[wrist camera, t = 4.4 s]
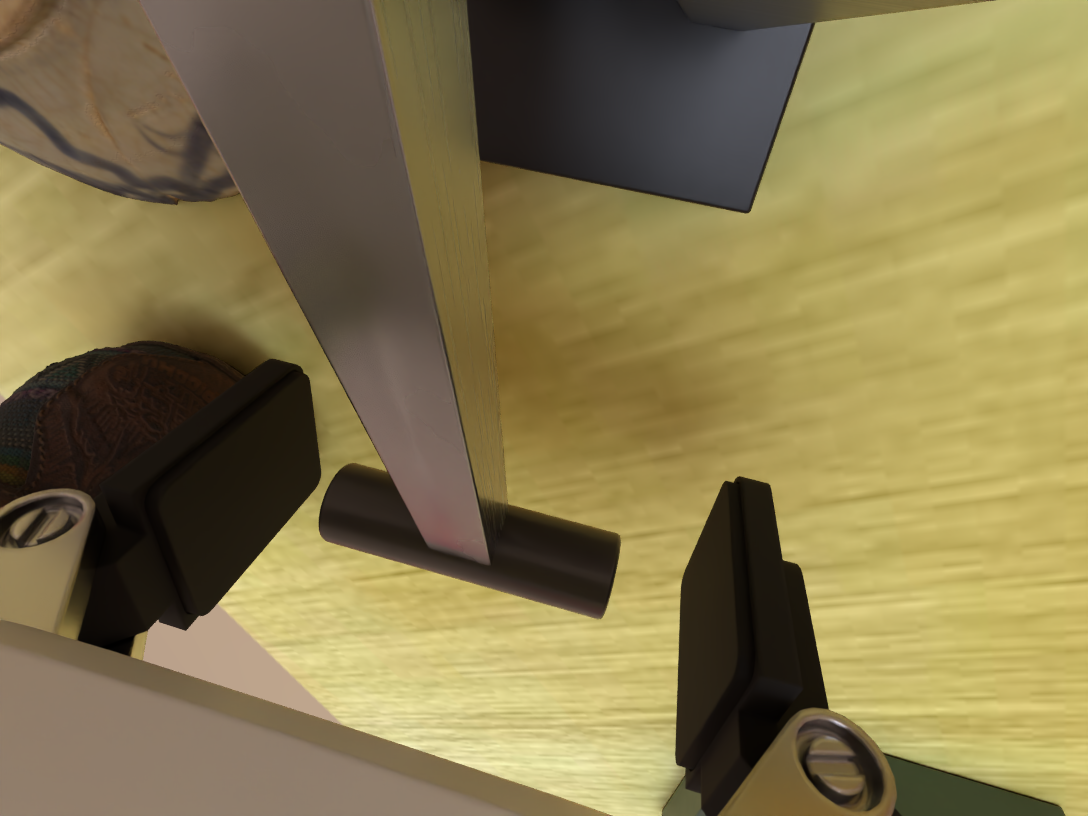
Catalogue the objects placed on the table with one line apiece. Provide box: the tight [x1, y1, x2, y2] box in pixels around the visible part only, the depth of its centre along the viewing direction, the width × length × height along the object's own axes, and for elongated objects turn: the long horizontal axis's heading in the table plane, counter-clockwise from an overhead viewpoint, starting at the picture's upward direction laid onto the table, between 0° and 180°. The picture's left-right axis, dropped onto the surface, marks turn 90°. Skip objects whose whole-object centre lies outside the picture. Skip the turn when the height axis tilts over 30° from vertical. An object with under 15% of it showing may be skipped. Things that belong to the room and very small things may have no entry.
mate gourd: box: [0, 341, 244, 508], centre depth 15 cm, size 7×8×10 cm
